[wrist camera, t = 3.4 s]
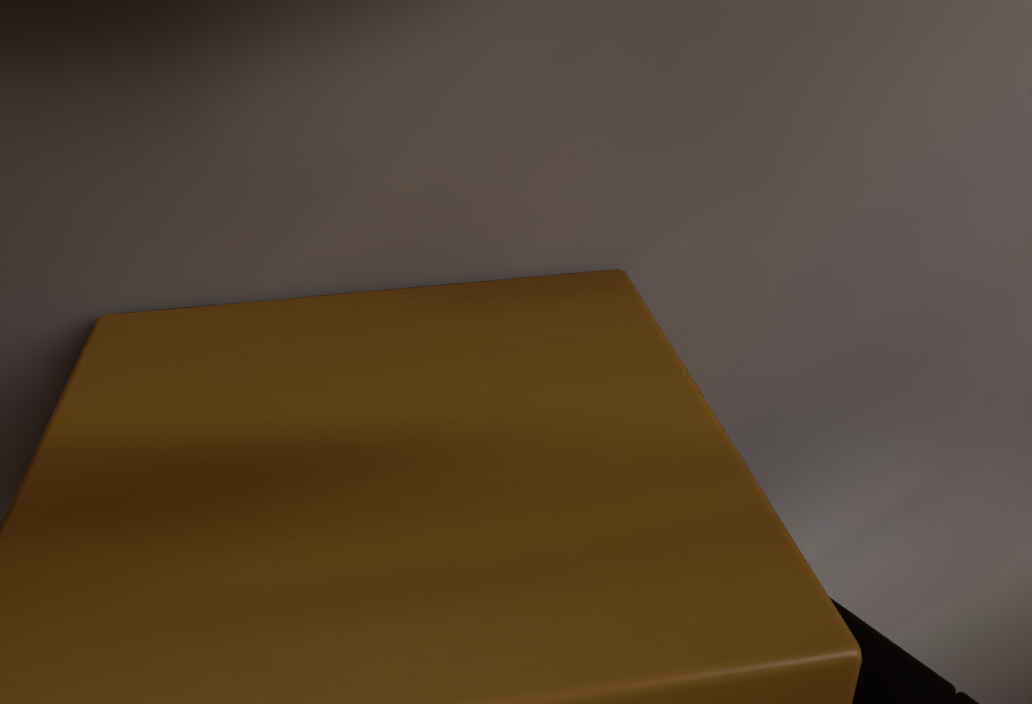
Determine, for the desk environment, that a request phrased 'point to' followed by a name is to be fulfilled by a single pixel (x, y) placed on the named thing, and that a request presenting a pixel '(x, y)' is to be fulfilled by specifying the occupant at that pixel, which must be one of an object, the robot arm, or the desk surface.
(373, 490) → the block
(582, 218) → the desk surface
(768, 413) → the desk surface
